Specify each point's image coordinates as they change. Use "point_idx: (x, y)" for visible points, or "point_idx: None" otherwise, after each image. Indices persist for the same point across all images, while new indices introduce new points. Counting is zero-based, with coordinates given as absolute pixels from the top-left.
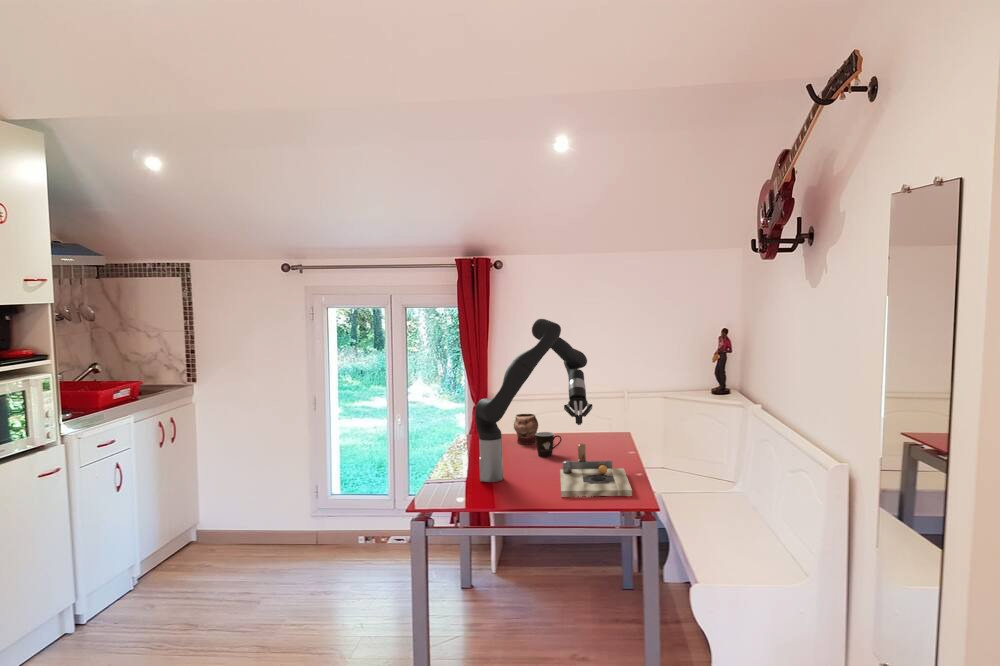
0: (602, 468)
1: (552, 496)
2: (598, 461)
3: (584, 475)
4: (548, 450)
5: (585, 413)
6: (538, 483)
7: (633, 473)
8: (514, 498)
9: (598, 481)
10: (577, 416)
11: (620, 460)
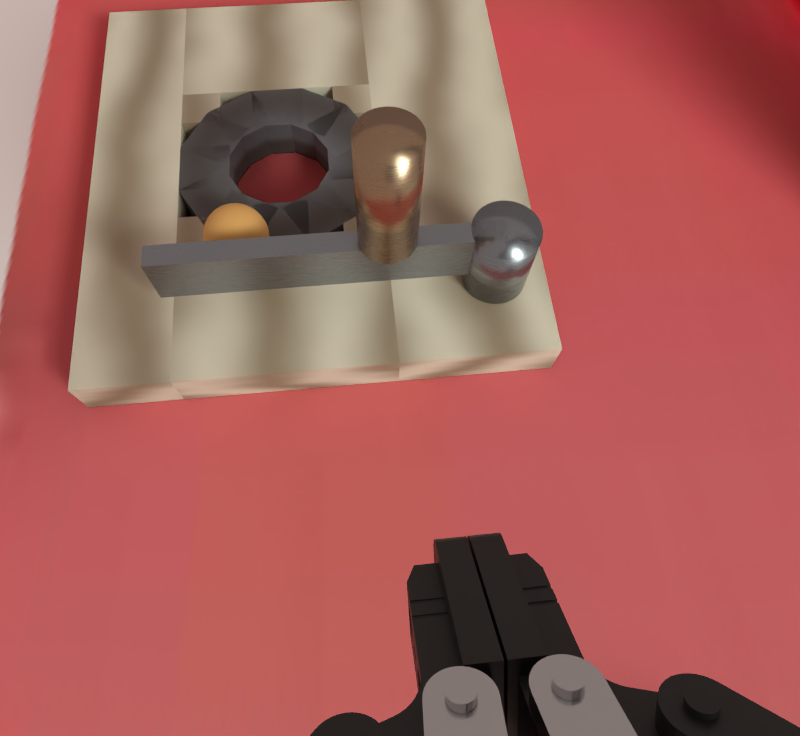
0: (237, 203)
1: (524, 38)
2: (255, 240)
3: None
4: None
5: (327, 719)
6: (653, 210)
7: (10, 430)
8: (703, 13)
9: (281, 123)
10: (530, 627)
11: None
